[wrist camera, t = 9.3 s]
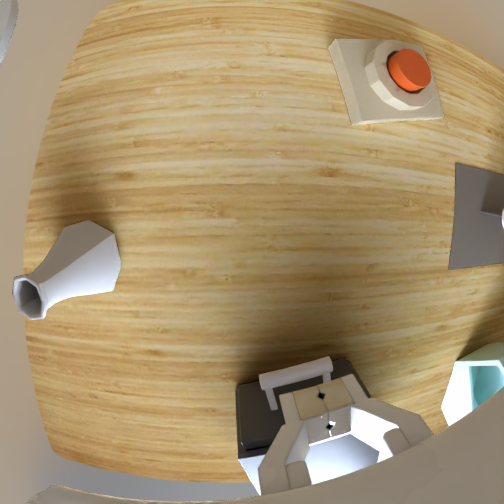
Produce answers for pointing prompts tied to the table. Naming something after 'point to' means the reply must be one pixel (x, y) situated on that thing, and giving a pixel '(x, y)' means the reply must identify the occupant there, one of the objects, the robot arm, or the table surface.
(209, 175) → the table surface
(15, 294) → the flask
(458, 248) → the platform
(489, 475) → the robot arm
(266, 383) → the cabinet drawer
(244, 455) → the single drawer cabinet
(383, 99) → the block
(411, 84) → the button
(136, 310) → the table surface
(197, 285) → the table surface
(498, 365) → the planter
